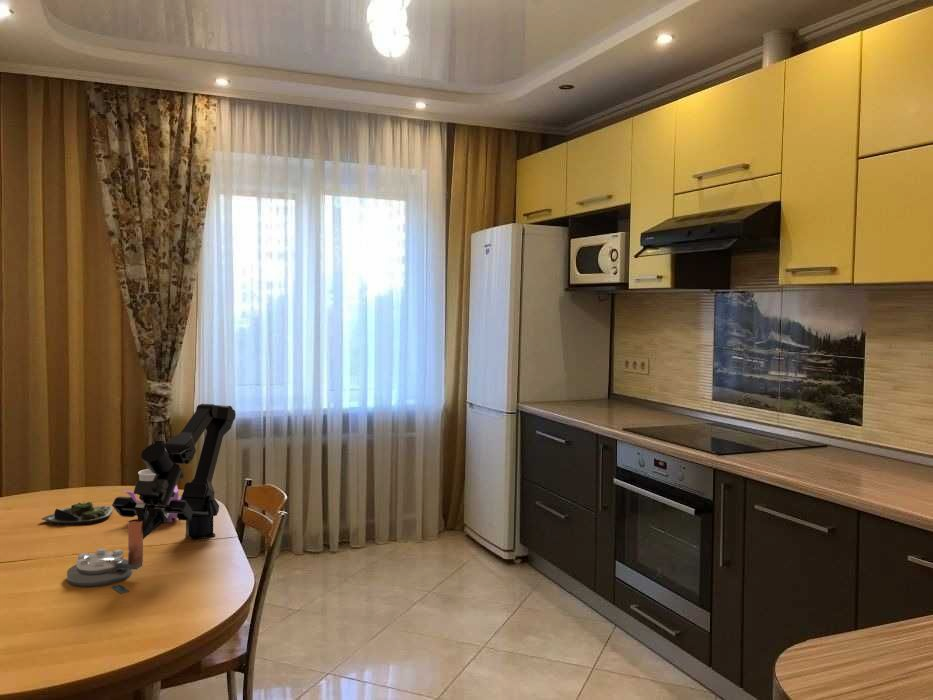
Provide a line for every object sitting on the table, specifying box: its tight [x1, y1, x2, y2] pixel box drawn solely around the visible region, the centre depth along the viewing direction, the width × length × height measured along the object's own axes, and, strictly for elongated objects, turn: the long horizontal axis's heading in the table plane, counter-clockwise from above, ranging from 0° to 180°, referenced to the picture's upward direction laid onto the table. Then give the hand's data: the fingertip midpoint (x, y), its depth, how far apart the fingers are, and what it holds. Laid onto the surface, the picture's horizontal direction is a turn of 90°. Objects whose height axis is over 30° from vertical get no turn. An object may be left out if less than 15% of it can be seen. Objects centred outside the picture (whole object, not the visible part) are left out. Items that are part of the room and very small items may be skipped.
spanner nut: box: [76, 518, 144, 574], centre depth 171 cm, size 16×10×12 cm, turn 84°
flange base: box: [66, 558, 133, 594], centre depth 169 cm, size 14×21×2 cm, turn 39°
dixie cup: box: [137, 468, 155, 481], centre depth 237 cm, size 8×8×10 cm
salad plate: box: [41, 501, 114, 526], centre depth 218 cm, size 19×18×5 cm
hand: (139, 539), depth 172 cm, fingers closed
